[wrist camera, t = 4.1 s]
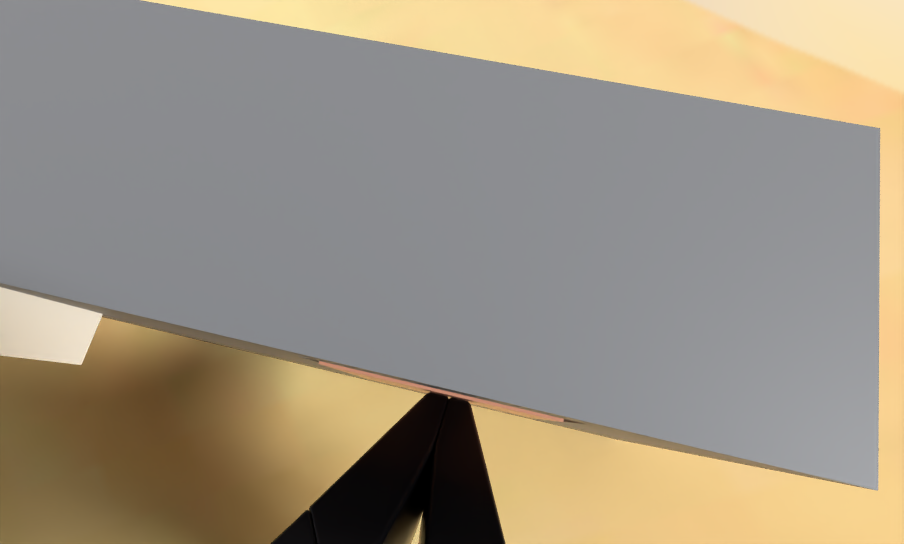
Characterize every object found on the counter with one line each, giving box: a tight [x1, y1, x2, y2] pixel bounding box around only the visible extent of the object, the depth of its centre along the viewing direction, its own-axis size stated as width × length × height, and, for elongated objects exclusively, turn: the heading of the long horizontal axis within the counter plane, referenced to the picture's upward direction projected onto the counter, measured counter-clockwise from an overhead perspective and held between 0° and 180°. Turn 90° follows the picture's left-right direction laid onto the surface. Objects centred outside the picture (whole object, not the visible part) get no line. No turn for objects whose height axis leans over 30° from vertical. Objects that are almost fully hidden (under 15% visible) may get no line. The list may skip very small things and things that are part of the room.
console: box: [0, 0, 880, 490], centre depth 13 cm, size 5×22×11 cm, turn 77°
